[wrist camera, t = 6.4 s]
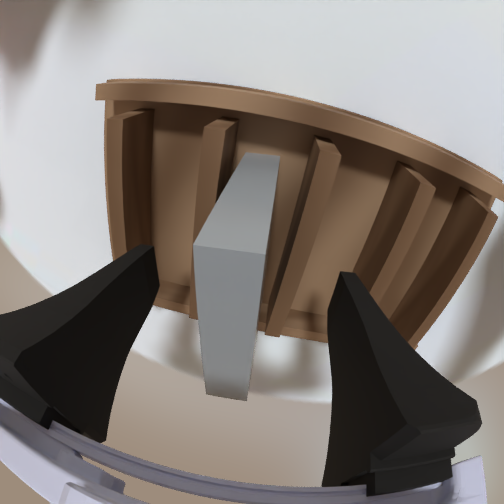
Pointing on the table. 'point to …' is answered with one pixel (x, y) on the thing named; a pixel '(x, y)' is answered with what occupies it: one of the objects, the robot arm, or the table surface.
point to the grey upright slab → (234, 274)
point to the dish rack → (294, 199)
